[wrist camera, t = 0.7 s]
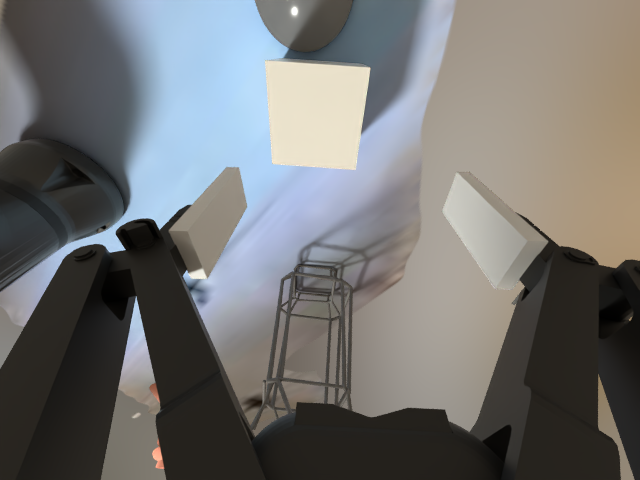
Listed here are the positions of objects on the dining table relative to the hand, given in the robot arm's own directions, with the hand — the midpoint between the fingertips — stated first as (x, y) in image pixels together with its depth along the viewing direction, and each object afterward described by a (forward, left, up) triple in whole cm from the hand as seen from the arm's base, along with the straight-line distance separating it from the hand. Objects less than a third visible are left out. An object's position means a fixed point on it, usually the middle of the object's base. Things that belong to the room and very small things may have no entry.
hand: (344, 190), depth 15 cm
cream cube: (-3, +1, -20) cm, 21 cm away
